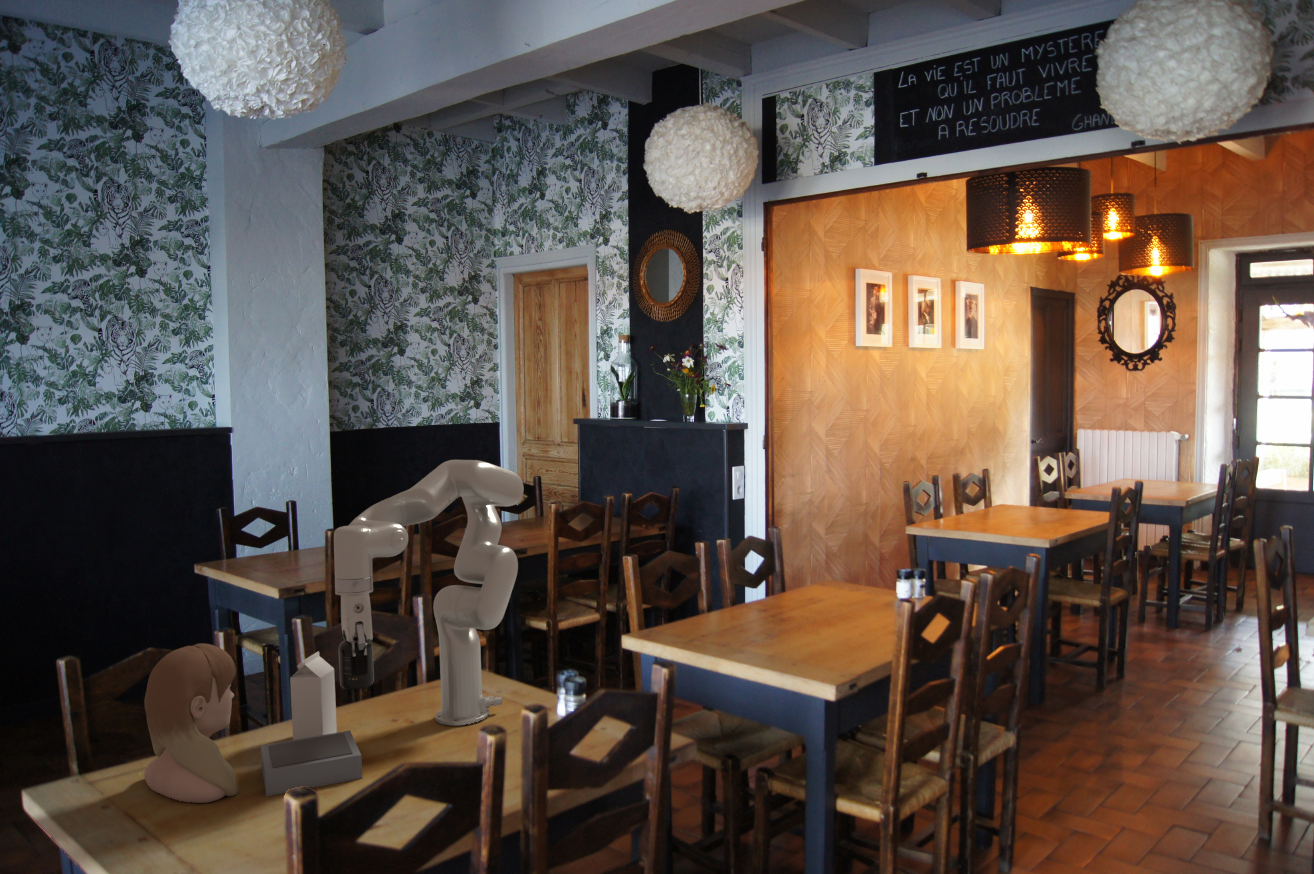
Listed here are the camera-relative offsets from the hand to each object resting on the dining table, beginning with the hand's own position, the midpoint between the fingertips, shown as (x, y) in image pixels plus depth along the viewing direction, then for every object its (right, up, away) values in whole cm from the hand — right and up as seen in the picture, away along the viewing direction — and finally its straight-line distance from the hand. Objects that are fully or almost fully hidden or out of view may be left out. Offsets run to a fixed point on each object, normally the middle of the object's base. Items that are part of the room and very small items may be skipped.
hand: (356, 669), depth 199 cm
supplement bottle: (0, -3, 0) cm, 4 cm away
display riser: (-8, -21, -3) cm, 22 cm away
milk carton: (-15, -20, +17) cm, 30 cm away
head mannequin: (-29, -22, -7) cm, 37 cm away
